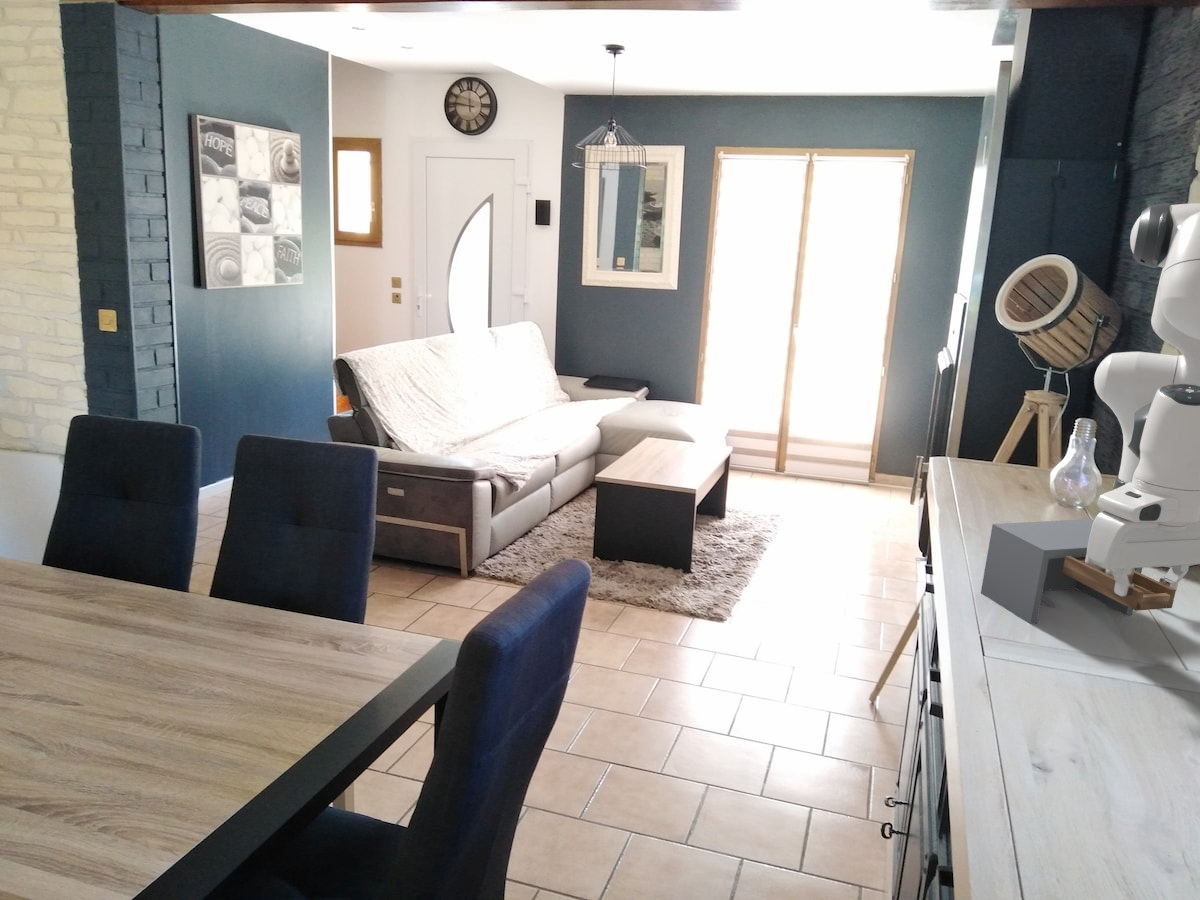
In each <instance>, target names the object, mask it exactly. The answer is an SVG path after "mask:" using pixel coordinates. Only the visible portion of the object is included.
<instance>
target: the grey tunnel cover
mask: <svg viewBox="0 0 1200 900" xmlns="http://www.w3.org/2000/svg"><path fill="white" fill-rule="evenodd" d="M1094 520H1095V519H1091V518H1085V519H1083V518H1082V519H1066V520H1064V519H1063V520H1062V519H1061V520H1048V521H1047V520H1046V521H1045V520H1043V521H1027V522H1026V521H1025V522H1008V523H1007V522H1005V523H1004V522H1002V523H992V525H991V531H990V537H989V544H988V549H987V555H986V561H985V567H984V573H983V578H982V585H981V588H980V589H981V590H980V594H982V595H983V596H984V597H986V598H988V599H989V600H990V601H991V600H992V601H993V602H995V603H996V604H997V605H1000V606H1001V607H1002V608H1005V609H1006V610H1007V611H1009V612H1010V613H1012V614H1014V615H1015V616H1017V617H1018V618H1020V619H1022V620H1023V621H1025V622H1027V624H1030V625H1034V624H1037V622H1038V619H1039V618H1038V617H1039V613H1040V608H1041V602H1042V597H1043V593H1044V592H1045V591H1047V592H1048V591H1061V590H1062V591H1063V590H1073V589H1074V590H1078V591H1080V592H1081V593H1083V594H1085V595H1086V596H1089V597H1091V598H1092V599H1094V600H1096V601H1098V602H1100V603H1102V604H1104V605H1106V606H1107V607H1109V608H1111V609H1113V610H1115V611H1117V612H1119V613H1120V614H1122V615H1125V616H1133V612H1134V610H1133V609H1131V608H1129V607H1127V606H1125V605H1123V604H1121V603H1119V602H1117V601H1116V600H1114V599H1112V598H1110V597H1108V596H1106V595H1104V594H1102V593H1100V592H1098V591H1096V590H1094V589H1092V588H1090V587H1088V586H1086V585H1085V584H1083V583H1081V582H1079V581H1077V580H1075V579H1073V578H1071V577H1069V576H1067V575H1065V574H1063V573H1062V570H1063V565H1064V560H1065V556H1071V557H1073V558H1075V559H1077V560H1085V559H1086V554H1087V547H1088V541H1089V537H1090V533H1091V529H1092V525H1093V522H1094ZM1135 571H1137V572H1139V573H1141V574H1142V571H1143V568H1135Z"/></svg>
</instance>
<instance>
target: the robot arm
mask: <svg viewBox="0 0 1200 900" xmlns="http://www.w3.org/2000/svg"><path fill="white" fill-rule="evenodd" d="M1129 244H1130V249H1131V252H1132V254H1133V255H1132V258H1133V260H1135V261H1136V262H1137V263H1138V264H1139V265H1143V266H1145V267H1148V268H1153V269H1157V268H1159V267H1160V268H1162V269H1161V272H1160V273H1161V274H1160V277H1159V280H1158V286H1157V289H1156V293H1155V294H1156V295H1155V300H1154V305H1153V308H1152V313H1151V318H1150V322H1151V323H1150V324H1151V328H1152V330H1153V332H1154V333H1155V334H1156V335H1157V336H1158V338H1160V339H1161V340H1162V341H1164V342H1166V343H1167V344H1169V345H1171V346H1172V347H1174V348H1175V349H1177V350H1179V352H1180V353H1181V355H1180V354H1179V355H1174V354H1165V353H1156V352H1146V351H1145V352H1144V351H1124V352H1114V353H1113V352H1112V353H1110V354H1108V355H1107V356H1105V357H1104V359H1102V361H1101V362H1100V363H1099V365H1098V366H1097V368H1096V371H1095V373H1094V378H1093V380H1094V381H1093V383H1094V384H1093V385H1094V389H1095V391H1096V394H1097V396H1098V397H1099V398H1100V399H1101V401H1102V402H1103V403H1105V404H1106V405H1107V406H1108V407H1109V409H1111V411H1112V412H1113V413H1114V415H1115V417H1116V418H1117V420H1118V422H1119V425H1120V428H1121V432H1122V439H1123V443H1122V444H1123V445H1122V453H1121V461H1120V467H1119V472H1118V475H1117V476H1116V477H1115V480H1114V482H1113V485H1112V486H1113V487H1112V490H1109V491H1107V492H1104V493H1102V494H1100V495H1099V497H1098V499H1097V508H1098V509H1101V510H1102V511H1100V512H1099V513H1098V514H1097V515H1096V516H1095V518H1094V519H1093V520H1094V522H1093V525H1092V529H1091V533H1090V537H1089V541H1088V547H1087V556H1088V558H1089V560H1090V562H1092V563H1093V564H1095V565H1097V566H1099V567H1102V568H1104V569H1107V570H1112V573H1113V576H1114V579H1115V581H1116V583H1115V588H1114V592H1115V593H1116V594H1118V595H1120V596H1131V595H1132V590H1133V588H1134V585H1132V584H1130V583H1129V580H1128V576H1127V575H1130V574H1131V572H1132V568H1142V569H1143V568H1155V567H1156V568H1158V567H1165V568H1169V569H1168V571H1167V573H1166V574H1165V576H1164V577H1160V578H1159V580H1158V582H1160V583H1162V584H1165V585H1167V586H1169V587H1171V588H1173V589H1175V590H1176V591H1177V589H1178V585H1179V583H1180V582H1181V580H1182V579H1184V577H1185V575H1186V574H1187V573H1189V572H1188V571H1189V569H1190V567H1193V566H1196V565H1200V202H1198V203H1197V202H1194V203H1178V204H1170V202H1167V203H1157V204H1153V205H1150V206H1148V207H1147V208H1145V209H1144V210H1142V211H1141V214H1140V216H1139V217H1138V218H1137V219H1136V220H1135V223H1134V224H1133V227H1132V228H1131V231H1130V237H1129Z"/></svg>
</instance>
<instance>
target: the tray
mask: <svg viewBox="0 0 1200 900" xmlns="http://www.w3.org/2000/svg"><path fill="white" fill-rule="evenodd" d="M1062 573H1063V574H1065V575H1067V576H1069V577H1071V578H1073V579H1075V580H1077V581H1079V582H1081V583H1083V584H1085V585H1086V586H1088V587H1090V588H1092V589H1094V590H1096V591H1098V592H1100V593H1102V594H1104V595H1106V596H1108V597H1110V598H1112V599H1114V600H1116V601H1117V602H1119V603H1121V604H1123V605H1125V606H1127V607H1129V608H1131V609H1133V611H1135V612H1137V611H1138V612H1139V611H1151V610H1162V609H1173V604H1174V600H1175V596H1176V592H1177V590H1175V589H1173V588H1171V587H1169V586H1167V585H1165V584H1162V583H1160V582H1159V580H1157V579H1154V578H1151V577H1149V576H1148V575H1145V574H1143V573H1142V572H1141V573H1139V572H1137V571H1135V568H1132V572H1131V574H1130V575H1127V576H1128V580H1129V583H1130V584H1132V585H1134V588H1133V590H1132V595H1131V596H1120V595H1118V594H1116V593H1115V592H1114V588H1115V583H1116V581H1115V579H1114V576H1113V573H1112V570H1107V569H1104V568H1102V567H1099V566H1097V565H1095V564H1093V563H1092V562H1090V560H1089V558H1088V556H1087V554H1086V559H1085V560H1077V559H1075V558H1073V557H1071V556H1065V560H1064V565H1063V570H1062Z"/></svg>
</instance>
